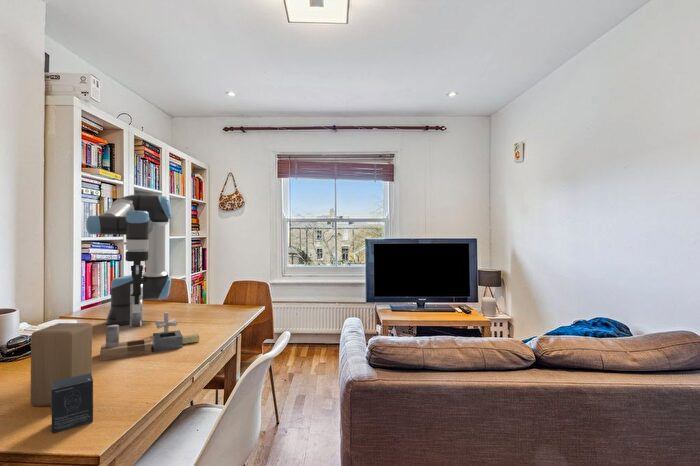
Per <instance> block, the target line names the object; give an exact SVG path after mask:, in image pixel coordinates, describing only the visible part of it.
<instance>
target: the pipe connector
mask: <svg viewBox="0 0 700 466" xmlns="http://www.w3.org/2000/svg"><path fill="white" fill-rule="evenodd" d="M163 313H164V315H163V316H164V317H163V320H156V321H155V325H156V329H160V328H161V329H163V332H169V331H170V329H169V326H170V327H177V326H178V322H177V320H176V319H175V318H172V319H170V320H169V318H170V312H169V311H165V312H163Z"/></svg>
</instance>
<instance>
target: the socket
mask: <svg viewBox="0 0 700 466" xmlns="http://www.w3.org/2000/svg"><path fill="white" fill-rule="evenodd" d="M183 336H184V335H183V333H181V330H179V329H178V330H169V332H164V331H162V332H161V331H160V332H154V333H152V348H153V353H154V352H155V353H156V352H162V351H167V350H168V351H169V350H174V349H182V348H183V345H184V344H183Z"/></svg>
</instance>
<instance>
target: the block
mask: <svg viewBox="0 0 700 466" xmlns="http://www.w3.org/2000/svg"><path fill="white" fill-rule="evenodd" d="M92 362H93V325H92V323H91V322H67V323H65V322H62V323H61V322H59V323H56V324H53V325H49V326H47V327H45V328H41V329H39V330H36V331H34V332H32V333H31V335H30V405H31V406H32V407H43V406H44V407H46V406H48V407H50V406H51V407H52V382H53V381H56V380H61V379H66V378H71V377H75V376H80V375H85V374H90V373H91V374H92V373H93V372H92V371H93V370H92V369H93V368H92V366H93V365H92V364H93V363H92ZM92 375H93V374H92Z"/></svg>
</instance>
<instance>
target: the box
mask: <svg viewBox="0 0 700 466" xmlns="http://www.w3.org/2000/svg"><path fill="white" fill-rule="evenodd" d="M93 422H94V379H93V374H91V373H90V374H85V375H80V376H75V377H71V378H66V379H61V380H56V381H53V382H52V406H51V431H50V432H51V433H52V434H55V433H59V432H62V431H64V430H65V431H66V430H68V429H72V428H75V427H80V426H82V425H87V424H89V423H93Z"/></svg>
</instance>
